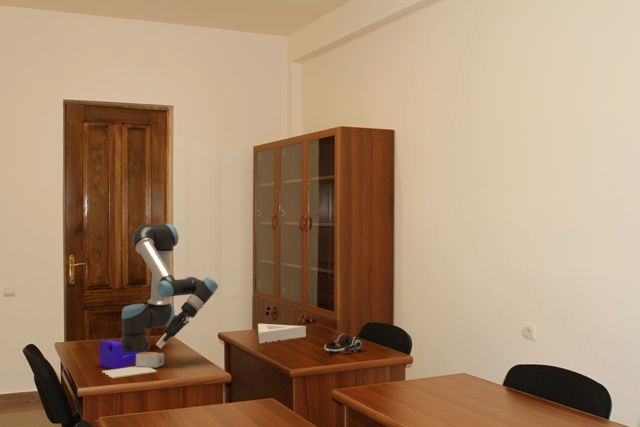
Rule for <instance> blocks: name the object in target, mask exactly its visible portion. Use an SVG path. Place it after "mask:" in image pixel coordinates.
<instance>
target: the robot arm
mask: <svg viewBox="0 0 640 427" xmlns="http://www.w3.org/2000/svg"><path fill="white" fill-rule="evenodd" d="M178 244H179V234H178V230H177V228H176V227H175V225H173V223H153V224H151V223H150V224H148V223H147V224H142V225H140V226H139V227H137V228H136V229H135V231H134V232H133V235H132V246H133V248H134V250H135V251H136V253H137V254H139V255H141V257H142V258H143V261H144V262H145V263H146V265H147V266H148V268H149V271H150V272H151V281H150V282H151V286H150V288H151V289H150V298H149V299H148V300H147V305H146V304H145V303H135V304H134V303H133V304H130V305H126V306H124V307H122V311H121V330H122V332H121V336H122V337H121V339H120V340H121V341H120V342H121V343H122V349H123V353H130V352H140V353H141V352H151V351H150V349H151V348H150V347H151V346H150V343H149V340H148V337H147V329H157V328H164V327H166V328H165V329H164V334H163V335H162V336H161V338H160V339H159V340H158V341H157V342H156V343H155V345H156V346H157V347H158V348H159V349H162V348H163V346H165V345H166V343H167V342H168V341H169V340H170V339H171V338H174V337H175V336H176V335H177V334H178V333H180V331H181V330H182V329H183V328H184V327H186V325H187V324H188V323H190V320H189V319H190V318H195V316H196V315H197V314H198V312H199V311H201V309H203V308H204V305H205V304H206V303H207V302H208V301H209V300H210V299H211V298H212V297H213V295H214V294H215V292H216V291H217V290H218V289H219V285H218V283H217V282H216V281H215V280H214V279H213V278H211V277H210V276H209V277H208V276H207V277H205V278H204V279H203V280H201V279H199V278H197V277H195V276H187V277H185V278H181V279H175V276H173V273H171V270H170V261H171V260H170V259H171V257H170V256H171V253H172V252H173V251H174V247H176V246H177V245H178ZM186 295H190V296H189V297H188V298H187V300H186V301H185V302H184V303H183V304H182V305H181V307H180V310H181V312H179V313H178V314H175V308H174V307H175V306H173V304H172V303H171V300H169V299H168V298H170V297H178V296H186Z"/></svg>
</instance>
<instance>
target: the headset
mask: <svg viewBox="0 0 640 427" xmlns="http://www.w3.org/2000/svg"><path fill="white" fill-rule="evenodd" d="M337 342H338V343H337ZM363 345H364V343H363V340H362V338H361V337H359V336H357V335H356V336H352V335H351V334H349V333H342V334H340V335H339V336H338V338H337V339H336V340H330V341H329V342H327V343H325V344H324V347H323V348H324V350H325V351H326V353H327V354H328V355H334V354H336V355H337V354H340V353H341V354H342V353H345V352H347V353H349V352H350V351H352V352H355V353H358V352H359V351H361V349H362V348H363Z"/></svg>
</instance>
